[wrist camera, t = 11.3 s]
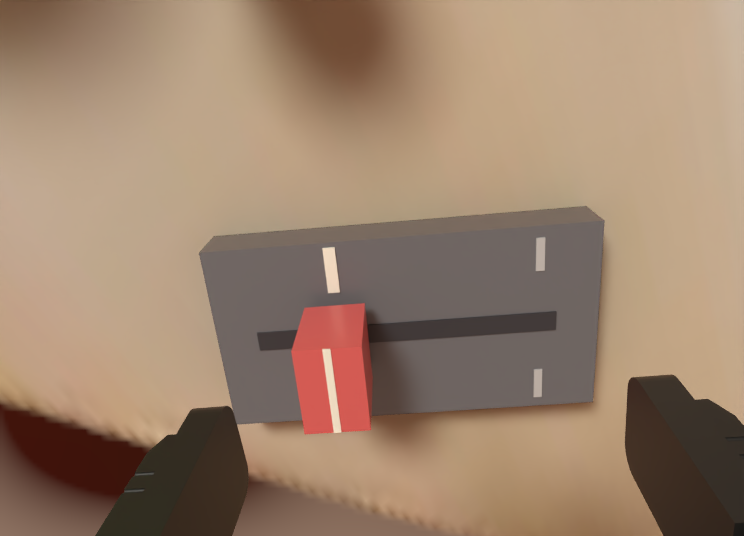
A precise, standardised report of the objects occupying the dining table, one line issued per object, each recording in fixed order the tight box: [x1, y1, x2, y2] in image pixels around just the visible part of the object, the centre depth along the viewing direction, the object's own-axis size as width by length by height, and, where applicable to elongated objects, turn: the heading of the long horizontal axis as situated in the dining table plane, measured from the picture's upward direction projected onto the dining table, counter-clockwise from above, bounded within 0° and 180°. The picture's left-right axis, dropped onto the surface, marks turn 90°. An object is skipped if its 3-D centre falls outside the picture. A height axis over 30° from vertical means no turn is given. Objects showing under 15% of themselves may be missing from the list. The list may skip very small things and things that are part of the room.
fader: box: [291, 303, 373, 434], centre depth 31 cm, size 4×5×6 cm
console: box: [199, 206, 604, 424], centre depth 35 cm, size 23×12×3 cm, turn 95°
